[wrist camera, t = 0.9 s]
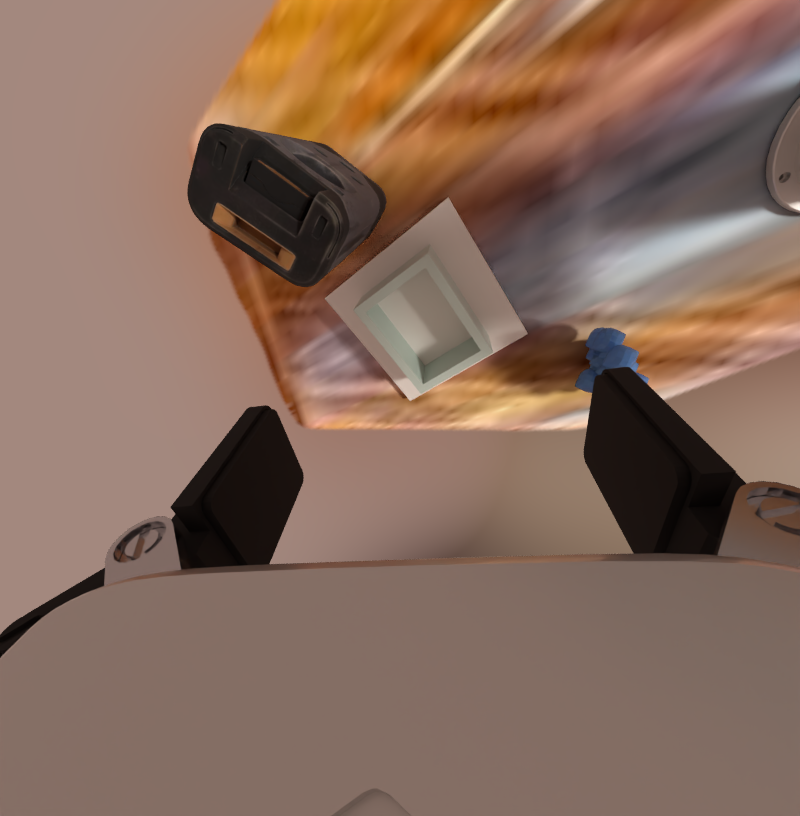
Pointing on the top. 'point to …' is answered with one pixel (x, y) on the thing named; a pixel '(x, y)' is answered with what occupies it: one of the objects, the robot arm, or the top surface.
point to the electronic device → (282, 200)
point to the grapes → (606, 356)
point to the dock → (428, 304)
